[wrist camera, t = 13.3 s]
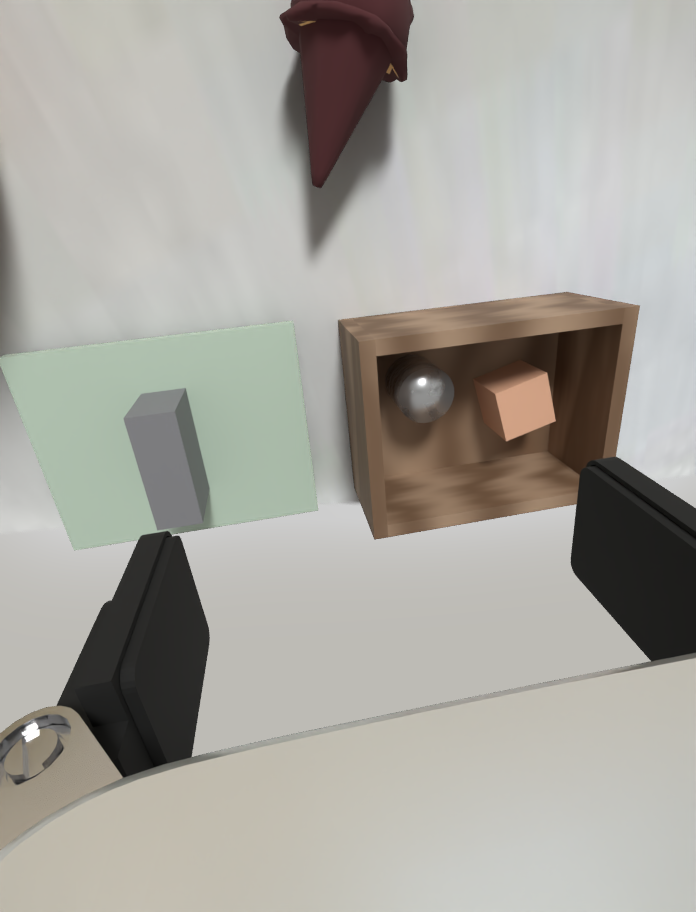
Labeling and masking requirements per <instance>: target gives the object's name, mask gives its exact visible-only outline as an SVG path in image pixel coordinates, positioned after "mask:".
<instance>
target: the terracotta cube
mask: <svg viewBox="0 0 696 912" xmlns="http://www.w3.org/2000/svg"><path fill="white" fill-rule="evenodd" d="M473 381H474V385H475V389H476V393H477V397H478V401H479V405H480V409H481V413H482V417H483V421H484V423H485V424H486V425H487V426H488V427H490V428H491V429H492V430H493V431H494V432H496V433H497V434H498V435H499V436H500V437H502V438H503V439H504V440H505V441H509V440H511V439H513V438H516V437H518V436H521V435H523V434H526V433H528V432H530V431H533V430H535V429H538V428H540V427H543V426H545V425H548V424H550V423H552V422H555V421H556V420H555V414H554V408H553V403H552V397H551V391H550V386H549V380H548V375H547V372H545V371H542V370H540V369H538V368H536V367H534V366H532V365H530V364H528V363H526V362H524V361H522V360H518V361H516V362H513V363H511V364H508V365H506V366H504V367H501V368H499V369H496V370H494V371H491V372H489V373H486V374H484V375H482V376H479V377H477V378H474V379H473Z"/></svg>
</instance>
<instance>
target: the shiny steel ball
mask: <svg viewBox="0 0 696 912" xmlns="http://www.w3.org/2000/svg"><path fill="white" fill-rule="evenodd" d="M385 386H386V391H387V393H388V395H389V396H390V397H391V399H392V400H393V401H394V402H395V404H396V405H397V406H398V407H399V409H400V410H401V411H402V412H403V413H404V415H405V416H406V417H407V418H409V419H410V420H412V421H415V422H418V423H428V422H432V421H435V420H437V419H439V418H440V417H442V416H443V415H444V414H445V413H446V412H447V411H448V409H449V408H450V406H451V404H452V402H453V398H454V386H453V383H452V381H451V379H450V377H449V376H448V375H447V374H446V373H445V372H443V371H442V370H441V369H439V368H438V367H437V366H435V365H434V364H433V363H431V362H430V361H429V360H427V359H426V358H424V357H422V356H420V355H406V356H403V357H401V358H399V359H398V360H396V361H395V362H394V363H393V364H392V365H391V366H390V368H389V370H388V372H387V374H386V379H385Z"/></svg>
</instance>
